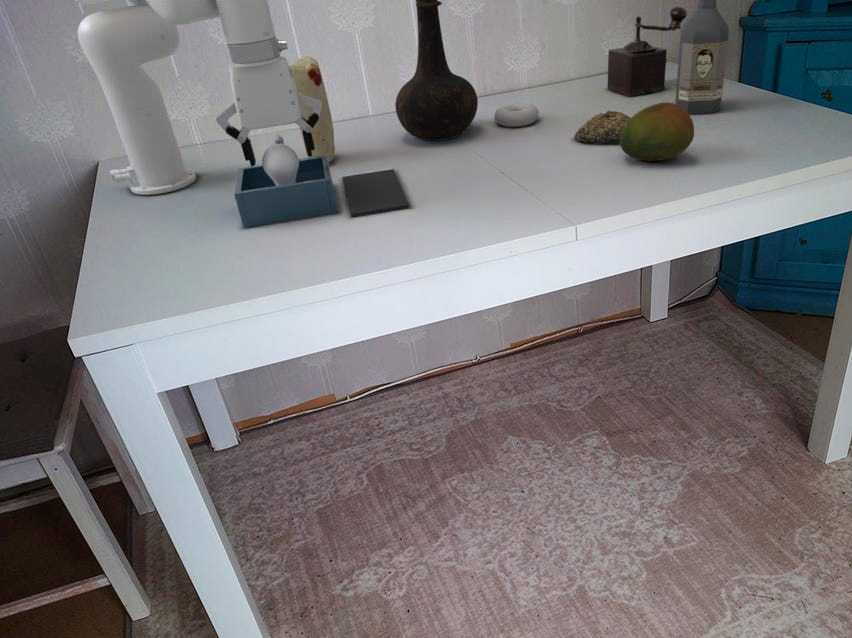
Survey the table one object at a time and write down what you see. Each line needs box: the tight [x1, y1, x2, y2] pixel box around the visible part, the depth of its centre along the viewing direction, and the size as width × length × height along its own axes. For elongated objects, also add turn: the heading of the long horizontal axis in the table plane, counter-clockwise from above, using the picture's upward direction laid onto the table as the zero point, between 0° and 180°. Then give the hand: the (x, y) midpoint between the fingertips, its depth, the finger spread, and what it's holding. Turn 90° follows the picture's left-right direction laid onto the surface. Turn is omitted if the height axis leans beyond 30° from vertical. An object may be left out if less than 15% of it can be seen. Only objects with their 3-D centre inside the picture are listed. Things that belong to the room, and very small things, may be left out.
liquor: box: [674, 0, 730, 115], centre depth 147 cm, size 9×9×30 cm
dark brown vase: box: [394, 0, 479, 141], centre depth 146 cm, size 18×18×28 cm
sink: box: [233, 133, 339, 229], centre depth 123 cm, size 16×16×11 cm
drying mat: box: [341, 168, 410, 218], centre depth 127 cm, size 10×20×1 cm, turn 14°
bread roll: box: [574, 110, 632, 144], centre depth 143 cm, size 13×12×5 cm
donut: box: [494, 102, 539, 128], centre depth 157 cm, size 10×4×10 cm
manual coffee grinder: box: [606, 6, 688, 98], centre depth 169 cm, size 16×11×18 cm
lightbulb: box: [261, 143, 299, 186], centre depth 122 cm, size 6×6×11 cm
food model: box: [289, 55, 336, 163], centre depth 140 cm, size 10×7×20 cm
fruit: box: [619, 101, 695, 162], centre depth 127 cm, size 12×13×10 cm
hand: (281, 159), depth 120 cm, fingers open, 9 cm apart
